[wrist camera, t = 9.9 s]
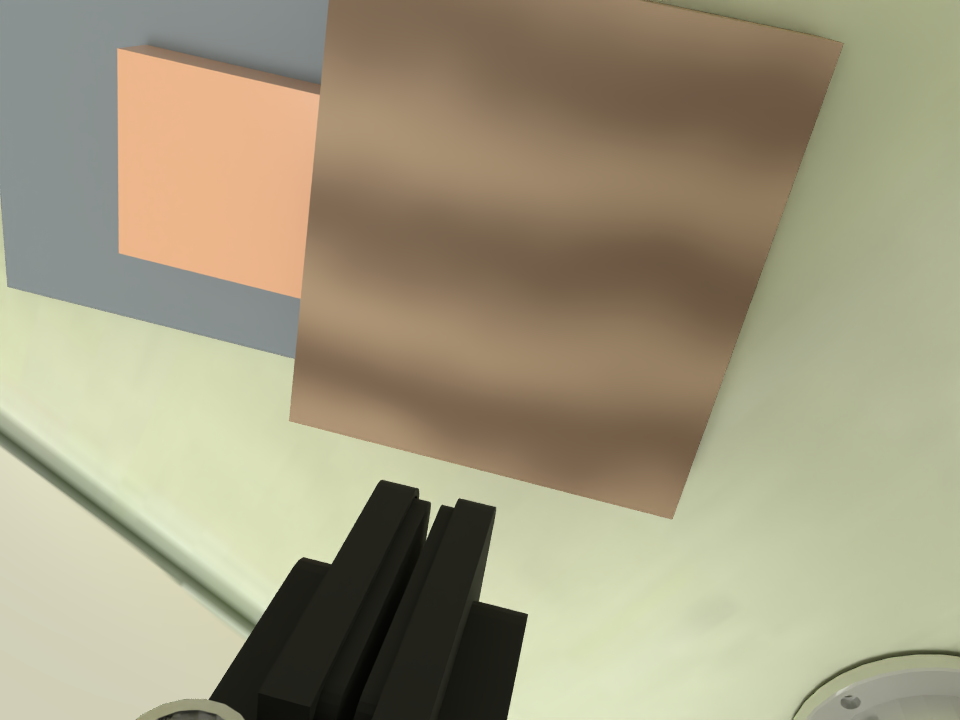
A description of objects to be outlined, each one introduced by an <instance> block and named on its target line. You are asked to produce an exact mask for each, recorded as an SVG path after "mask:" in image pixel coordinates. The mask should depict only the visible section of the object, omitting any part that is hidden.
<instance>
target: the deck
mask: <svg viewBox="0 0 960 720" xmlns="http://www.w3.org/2000/svg"><path fill="white" fill-rule="evenodd" d="M843 44H844V43H841V42H838V41H834V40H830V39H827V38H823V37H820V36H816V35H811V34H807V33H802V32H797V31H792V30H787V29H783V28H778V27H773V26H768V25H763V24H759V23H754V22H749V21H744V20H739V19H735V18H730V17H725V16H720V15H716V14H711V13H706V12H701V11H696V10H692V9H687V8H682V7H677V6H672V5H668V4H663V3H658V2H653V1H648V0H329V3H328V14H327V25H326V35H325V46H324V56H323V67H322V78H321V88H320V99H319V110H318V120H317V131H316V141H315V152H314V163H313V173H312V184H311V194H310V205H309V216H308V226H307V237H306V248H305V258H304V269H303V279H302V290H301V301H300V311H299V322H298V332H297V343H296V354H295V364H294V375H293V386H292V396H291V407H290V417H289V421H291V422H295V423H299V424H303V425H307V426H311V427H315V428H318V429H322V430H326V431H330V432H334V433H338V434H342V435H346V436H350V437H354V438H357V439H361V440H365V441H369V442H373V443H377V444H381V445H385V446H389V447H392V448H396V449H400V450H404V451H408V452H412V453H416V454H420V455H424V456H427V457H431V458H435V459H439V460H443V461H447V462H451V463H455V464H459V465H462V466H466V467H470V468H474V469H478V470H482V471H486V472H490V473H494V474H497V475H501V476H505V477H509V478H513V479H517V480H521V481H525V482H529V483H532V484H536V485H540V486H544V487H548V488H552V489H556V490H560V491H564V492H568V493H571V494H575V495H579V496H583V497H587V498H591V499H595V500H599V501H603V502H606V503H610V504H614V505H618V506H622V507H626V508H630V509H634V510H638V511H641V512H645V513H649V514H653V515H657V516H661V517H665V518H669V519H673V516H674V513H675V511H676V508H677V505H678V502H679V499H680V497H681V494H682V491H683V488H684V486H685V483H686V480H687V477H688V475H689V472H690V469H691V466H692V463H693V461H694V458H695V455H696V452H697V450H698V447H699V444H700V441H701V438H702V436H703V433H704V430H705V427H706V425H707V422H708V419H709V416H710V413H711V411H712V408H713V405H714V402H715V400H716V397H717V394H718V391H719V389H720V386H721V383H722V380H723V377H724V375H725V372H726V369H727V366H728V364H729V361H730V358H731V355H732V352H733V350H734V347H735V344H736V341H737V339H738V336H739V333H740V330H741V327H742V325H743V322H744V319H745V316H746V314H747V311H748V308H749V305H750V302H751V300H752V297H753V294H754V291H755V289H756V286H757V283H758V280H759V278H760V275H761V272H762V269H763V266H764V264H765V261H766V258H767V255H768V253H769V250H770V247H771V244H772V241H773V239H774V236H775V233H776V230H777V228H778V225H779V222H780V219H781V216H782V214H783V211H784V208H785V205H786V203H787V200H788V197H789V194H790V192H791V189H792V186H793V183H794V180H795V178H796V175H797V172H798V169H799V167H800V164H801V161H802V158H803V155H804V153H805V150H806V147H807V144H808V142H809V139H810V136H811V133H812V130H813V128H814V125H815V122H816V119H817V117H818V114H819V111H820V108H821V105H822V103H823V100H824V97H825V94H826V92H827V89H828V86H829V83H830V81H831V78H832V75H833V72H834V69H835V67H836V64H837V61H838V58H839V56H840V53H841V50H842V47H843Z"/></svg>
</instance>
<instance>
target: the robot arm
mask: <svg viewBox="0 0 960 720" xmlns="http://www.w3.org/2000/svg"><path fill="white" fill-rule="evenodd" d="M430 509H431V503H430V502H428V501H424V500H420V499H419V489H418V488H414V487H410V486H406V485H401V484H397V483H393V482H389V481H385V480H381V481H380V482H379V483H378V484H377V486H376V488H375V490H374V491H373V493H372V495H371V497H370V498H369V500H368V502H367V504H366V505H365V507H364V509H363V510H362V512H361V514H360V516H359V517H358V519H357V521H356V523H355V524H354V526H353V528H352V530H351V531H350V533H349V535H348V537H347V538H346V540H345V542H344V544H343V545H342V547H341V549H340V551H339V552H338V554H337V556H336V558H335V559H334V561H333V563H332V564H328V563H324V562H320V561H316V560H312V559H308V558H304V557H303V558H301V559H300V560H298V562H297V563H296V564H295V566H294V567H293V568H292V570H291V572H290V573H289V575H288V576H287V578H286V579H285V581H284V582H283V584H282V586H281V587H280V589H279V590H278V592H277V593H276V595H275V597H274V598H273V600H272V601H271V603H270V604H269V606H268V608H267V609H266V611H265V612H264V614H263V615H262V617H261V618H260V620H259V622H258V623H257V625H256V626H255V628H254V629H253V631H252V633H251V634H250V636H249V637H248V639H247V640H246V642H245V644H244V645H243V647H242V648H241V650H240V651H239V653H238V655H237V656H236V658H235V659H234V661H233V662H232V664H231V665H230V667H229V669H228V670H227V672H226V673H225V675H224V677H223V678H222V680H221V681H220V683H219V684H218V686H217V688H216V689H215V691H214V692H213V694H212V695H211V697H210V698H209V700H207V699H183V700H179V701H175V702H170V703H166V704H163V705H160V706H158V707H156V708H154V709H152V710H150V711H148V712H146V713H144V714H142V715H141V716H140V717H139V718H137V719H136V720H507V716H508V711H509V707H510V702H511V697H512V692H513V687H514V682H515V677H516V672H517V667H518V662H519V657H520V652H521V647H522V642H523V637H524V632H525V627H526V622H527V617H528V614H525V613H521V612H517V611H513V610H510V609H506V608H502V607H498V606H494V605H490V604H486V603H482V602H479V597H480V592H481V587H482V582H483V577H484V571H485V566H486V561H487V556H488V551H489V545H490V540H491V535H492V530H493V525H494V519H495V514H496V507H493V506H489V505H485V504H481V503H476V502H472V501H468V500H464V499H460V498H459V499H458V501H457V503H456V505H455V508H453V507H449V506H445V505H441V507H440V509H439V511H438V514H437V516H436V519H435V521H434V523H433V526H432V528H431V530H430V533H429V535H428V538H427V540H426V536H427V530H428V523H429V516H430ZM793 720H960V657H957V656H950V655H920V654H917V655H909V656H901V657H892V658H887V659H883V660H879V661H876V662H872V663H868V664H864V665H862V666H859V667H857V668H855V669H852V670H850V671H848V672H845V673H843V674H841V675H839V676H837V677H836V678H834V679H833V680H831V681H830V682H828V683H826V684H825V685H823V686H822V687H820V688H819V689H818V690H817V691H816V692H815V693H814V694H813V695H812V696H811V697H810V698H809V699H807V700H806V701H805V702H804V704H803V705H802V707H801V708H800V710H799V711H798V713H797V714H796V716H795V717H794V719H793Z"/></svg>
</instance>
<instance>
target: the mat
mask: <svg viewBox="0 0 960 720" xmlns="http://www.w3.org/2000/svg"><path fill="white" fill-rule="evenodd" d="M328 3H329V0H0V197H1V210H2V223H3V235H4V248H5V261H6V274H7V287H10V288H14V289H18V290H22V291H26V292H30V293H34V294H38V295H42V296H46V297H50V298H54V299H58V300H62V301H66V302H70V303H74V304H78V305H82V306H86V307H90V308H94V309H98V310H102V311H106V312H110V313H114V314H118V315H122V316H126V317H130V318H134V319H138V320H142V321H146V322H150V323H154V324H158V325H162V326H166V327H170V328H174V329H178V330H182V331H186V332H190V333H194V334H198V335H202V336H206V337H210V338H214V339H218V340H222V341H226V342H230V343H234V344H238V345H242V346H246V347H250V348H254V349H258V350H262V351H266V352H270V353H274V354H278V355H281V356H285V357H289V358H293V359H295V354H296V343H297V332H298V322H299V311H300V301H301V299H299V298H295V297H291V296H287V295H283V294H279V293H275V292H271V291H267V290H263V289H259V288H255V287H251V286H247V285H244V284H240V283H236V282H232V281H228V280H224V279H220V278H216V277H212V276H208V275H204V274H200V273H196V272H192V271H188V270H184V269H180V268H176V267H172V266H168V265H164V264H160V263H156V262H152V261H148V260H144V259H140V258H136V257H132V256H128V255H124V254H120V253H119V216H118V76H117V48H124V47H132V46H140V45H150V46H155V47H159V48H163V49H168V50H172V51H176V52H181V53H185V54H189V55H194V56H198V57H202V58H207V59H211V60H215V61H220V62H224V63H228V64H233V65H237V66H242V67H246V68H250V69H255V70H259V71H263V72H268V73H272V74H276V75H281V76H285V77H289V78H294V79H298V80H302V81H307V82H311V83H315V84H320V85H321V78H322V67H323V56H324V46H325V35H326V25H327V14H328Z"/></svg>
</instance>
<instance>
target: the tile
mask: <svg viewBox="0 0 960 720" xmlns="http://www.w3.org/2000/svg"><path fill="white" fill-rule="evenodd" d="M117 76H118V216H119V253H120V254H124V255H128V256H132V257H136V258H140V259H144V260H148V261H152V262H156V263H160V264H164V265H168V266H172V267H176V268H180V269H184V270H188V271H192V272H196V273H200V274H204V275H208V276H212V277H216V278H220V279H224V280H228V281H232V282H236V283H240V284H244V285H247V286H251V287H255V288H259V289H263V290H267V291H271V292H275V293H279V294H283V295H287V296H291V297H295V298H299V299H301V290H302V279H303V269H304V258H305V248H306V237H307V226H308V216H309V205H310V194H311V184H312V173H313V163H314V152H315V141H316V131H317V120H318V110H319V99H320V88H321V85H320V84H315V83H311V82H307V81H302V80H298V79H294V78H289V77H285V76H281V75H276V74H272V73H268V72H263V71H259V70H255V69H250V68H246V67H242V66H237V65H233V64H228V63H224V62H220V61H215V60H211V59H207V58H202V57H198V56H194V55H189V54H185V53H181V52H176V51H172V50H168V49H163V48H159V47H155V46H150V45H140V46H132V47H124V48H117Z"/></svg>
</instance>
